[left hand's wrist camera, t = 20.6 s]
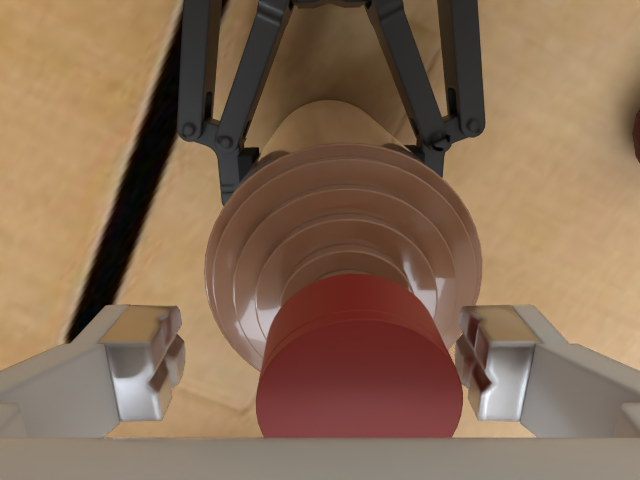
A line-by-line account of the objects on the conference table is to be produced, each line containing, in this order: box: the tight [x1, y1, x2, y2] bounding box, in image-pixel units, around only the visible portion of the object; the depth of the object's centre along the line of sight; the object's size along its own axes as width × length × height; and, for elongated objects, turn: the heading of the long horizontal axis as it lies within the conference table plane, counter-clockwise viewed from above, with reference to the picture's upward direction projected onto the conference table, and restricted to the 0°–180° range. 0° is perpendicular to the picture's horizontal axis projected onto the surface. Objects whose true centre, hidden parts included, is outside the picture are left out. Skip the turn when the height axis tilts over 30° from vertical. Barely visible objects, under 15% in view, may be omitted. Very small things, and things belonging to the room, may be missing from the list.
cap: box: [256, 274, 463, 438], centre depth 9 cm, size 4×4×2 cm
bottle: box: [204, 100, 482, 372], centre depth 20 cm, size 8×8×23 cm
